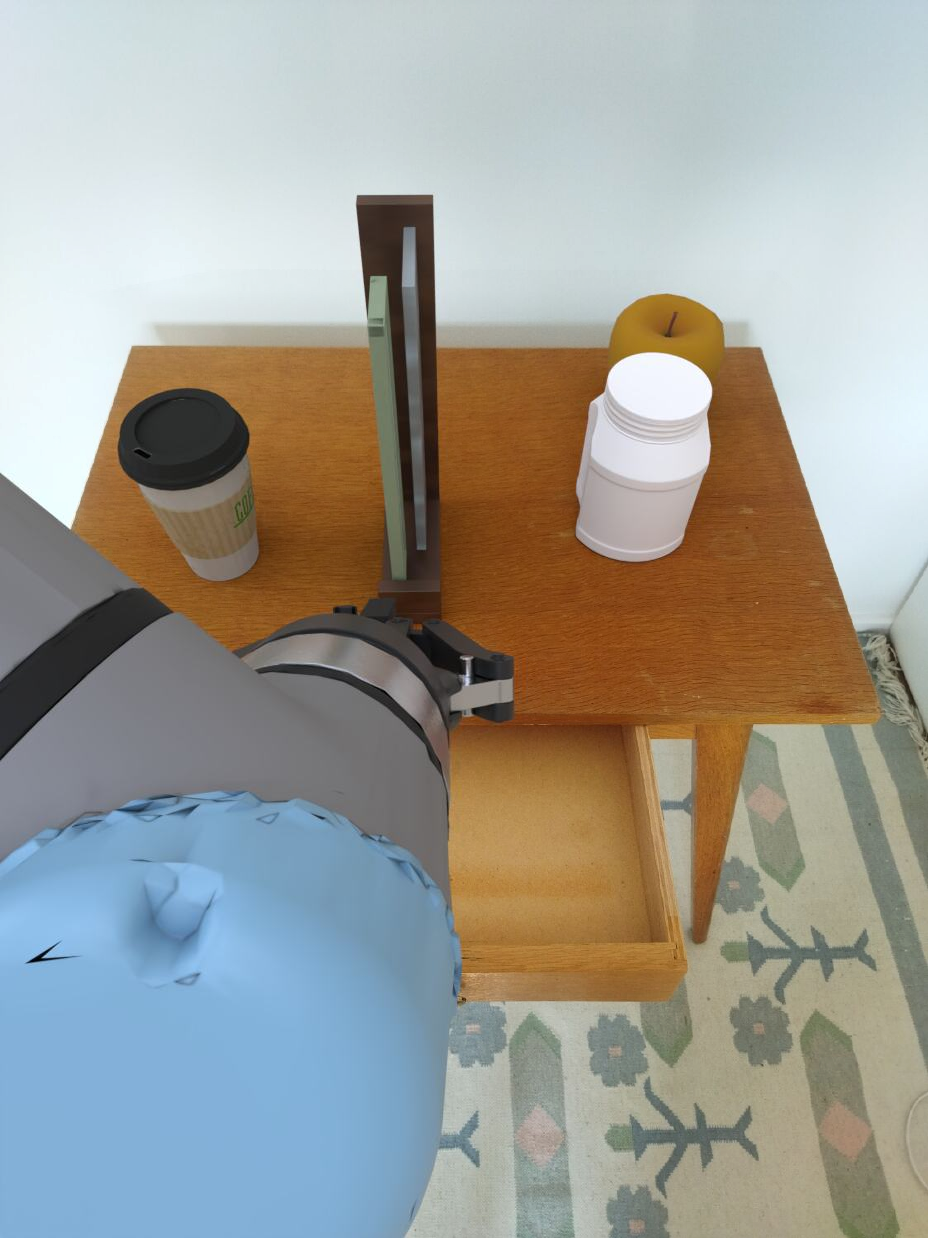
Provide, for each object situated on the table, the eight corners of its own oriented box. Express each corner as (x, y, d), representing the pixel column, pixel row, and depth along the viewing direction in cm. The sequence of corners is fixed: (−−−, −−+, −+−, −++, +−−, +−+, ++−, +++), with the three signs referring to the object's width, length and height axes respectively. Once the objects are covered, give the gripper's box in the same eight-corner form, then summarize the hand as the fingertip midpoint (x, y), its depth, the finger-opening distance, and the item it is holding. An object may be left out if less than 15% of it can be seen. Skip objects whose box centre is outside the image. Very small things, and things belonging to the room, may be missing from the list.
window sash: (394, 595, 68) (367, 325, 47) (395, 549, 71) (370, 275, 50) (406, 594, 68) (384, 325, 47) (406, 548, 71) (386, 275, 50)
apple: (578, 398, 86) (595, 286, 76) (669, 376, 88) (698, 265, 78) (624, 468, 80) (649, 358, 70) (721, 443, 82) (760, 332, 72)
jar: (683, 566, 73) (728, 439, 61) (575, 558, 73) (599, 430, 61) (674, 474, 80) (714, 342, 67) (576, 468, 80) (597, 335, 68)
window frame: (382, 624, 69) (344, 324, 45) (386, 502, 77) (356, 194, 54) (441, 623, 69) (434, 324, 46) (439, 501, 77) (433, 193, 54)
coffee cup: (301, 541, 74) (271, 412, 62) (228, 615, 70) (179, 491, 57) (220, 498, 77) (176, 366, 65) (144, 566, 72) (81, 438, 60)
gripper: (116, 875, 25) (274, 685, 48) (540, 866, 25) (495, 681, 49) (94, 634, 24) (268, 558, 47) (541, 627, 24) (494, 555, 47)
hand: (383, 621), depth 48 cm, fingers closed
